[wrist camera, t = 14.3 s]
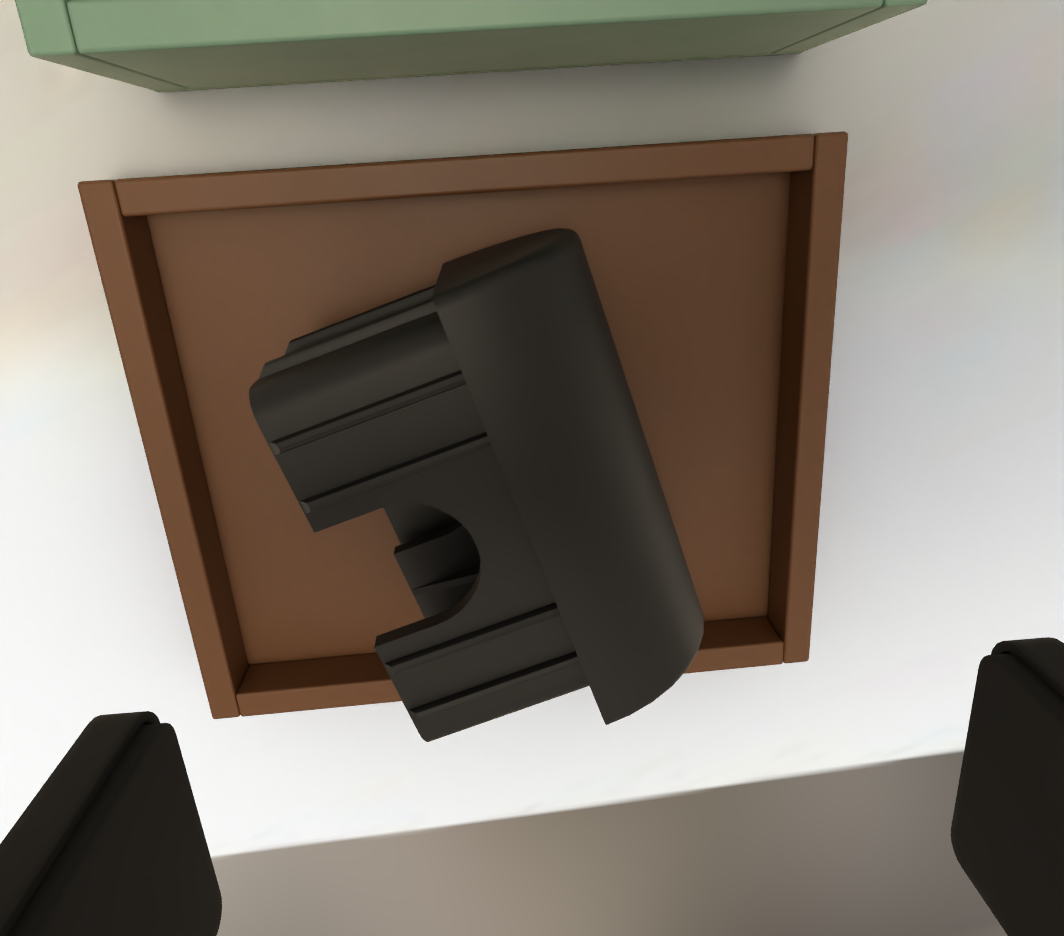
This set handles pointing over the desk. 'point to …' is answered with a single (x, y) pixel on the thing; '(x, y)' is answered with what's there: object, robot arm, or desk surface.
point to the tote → (415, 36)
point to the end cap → (494, 486)
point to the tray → (414, 264)
